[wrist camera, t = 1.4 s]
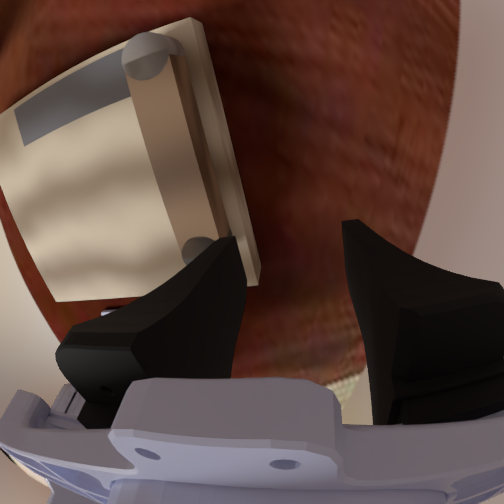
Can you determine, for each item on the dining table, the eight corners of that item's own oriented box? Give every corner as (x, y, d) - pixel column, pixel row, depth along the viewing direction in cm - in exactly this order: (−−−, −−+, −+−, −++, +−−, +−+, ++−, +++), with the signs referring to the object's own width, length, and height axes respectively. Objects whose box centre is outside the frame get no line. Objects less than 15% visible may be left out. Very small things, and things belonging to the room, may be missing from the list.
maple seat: (261, 265, 25) (257, 286, 22) (68, 286, 29) (55, 302, 27) (202, 23, 16) (190, 16, 14) (1, 121, 20) (-19, 129, 18)
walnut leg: (137, 45, 14) (116, 43, 12) (179, 30, 14) (162, 24, 12) (199, 255, 21) (189, 277, 19) (236, 250, 21) (230, 272, 19)
